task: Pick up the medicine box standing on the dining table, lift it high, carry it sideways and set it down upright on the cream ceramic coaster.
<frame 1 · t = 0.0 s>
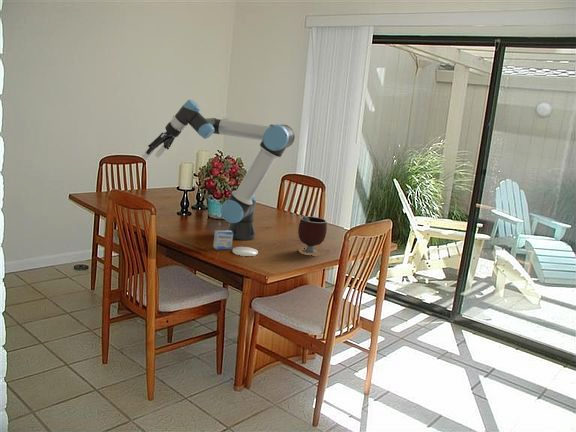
hand: (150, 157, 283), 36 cm above the table, tool tilted 35°, fingers open, 13 cm apart
mate gourd: (308, 253, 278), on the table
medicine box: (222, 248, 267), on the table
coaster: (245, 252, 264), on the table
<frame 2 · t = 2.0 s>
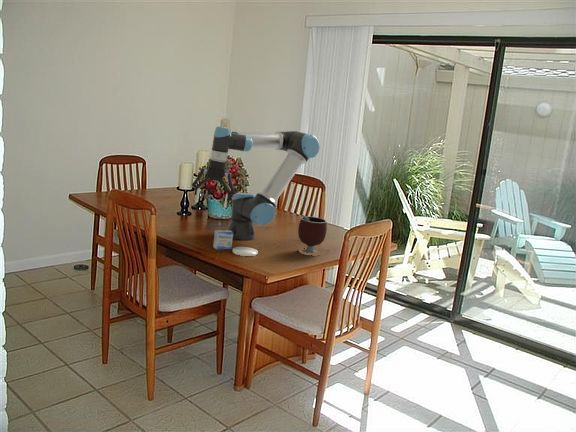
hand: (210, 205, 262), 20 cm above the table, tool pointing down, fingers open, 13 cm apart
nothing on the table moved.
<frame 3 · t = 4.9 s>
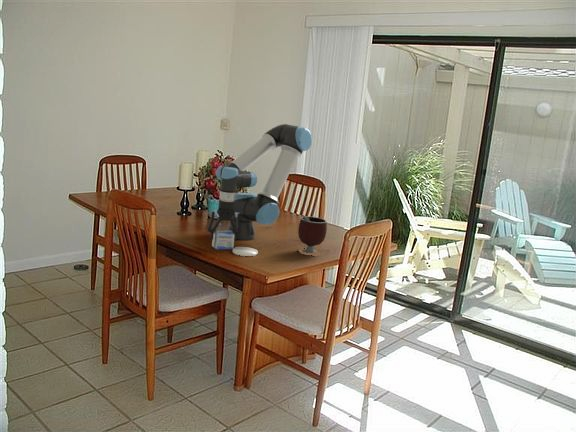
hand: (222, 246, 267), 1 cm above the table, tool pointing down, fingers closed on medicine box, 8 cm apart
medicine box: (222, 248, 267), on the table, touching gripper
everything else where it was.
when the fingers open (3 cm above the table, at t = 11.2 s): medicine box drops 1 cm, resting on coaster.
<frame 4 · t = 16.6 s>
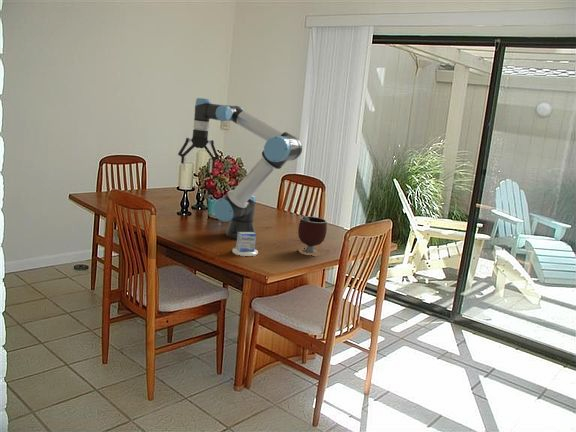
hand: (197, 171, 285), 32 cm above the table, tool pointing down, fingers open, 13 cm apart
medicine box: (245, 250, 264), point 1 cm above the table, touching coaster
everything else where it was.
at the end: medicine box inside the target area on the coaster (0.1 cm from its centre), point 1.0 cm above the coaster's base; medicine box tilted 0°; the gripper is holding nothing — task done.
